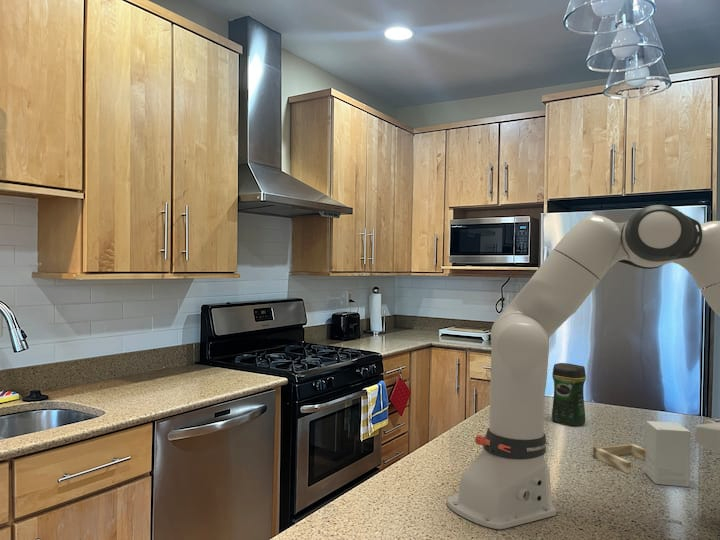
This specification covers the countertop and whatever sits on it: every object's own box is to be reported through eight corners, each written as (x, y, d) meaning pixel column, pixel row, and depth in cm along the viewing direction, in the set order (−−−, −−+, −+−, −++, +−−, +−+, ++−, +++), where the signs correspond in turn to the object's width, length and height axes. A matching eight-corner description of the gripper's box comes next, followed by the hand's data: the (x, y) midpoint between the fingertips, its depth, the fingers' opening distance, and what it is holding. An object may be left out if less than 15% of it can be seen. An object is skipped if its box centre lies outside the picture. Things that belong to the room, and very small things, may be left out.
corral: (667, 468, 131) (667, 458, 131) (626, 473, 128) (626, 462, 128) (631, 452, 142) (631, 443, 142) (593, 456, 138) (593, 447, 138)
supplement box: (690, 487, 120) (691, 431, 120) (654, 484, 121) (655, 428, 121) (677, 475, 127) (679, 422, 127) (644, 472, 128) (645, 419, 128)
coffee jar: (588, 423, 168) (590, 364, 168) (577, 428, 163) (578, 367, 163) (559, 416, 175) (560, 360, 175) (547, 421, 170) (548, 363, 170)
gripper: (814, 422, 104) (744, 404, 117) (736, 431, 98) (672, 411, 111) (814, 454, 104) (744, 433, 117) (736, 465, 98) (671, 441, 111)
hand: (708, 422), depth 114 cm, fingers closed
